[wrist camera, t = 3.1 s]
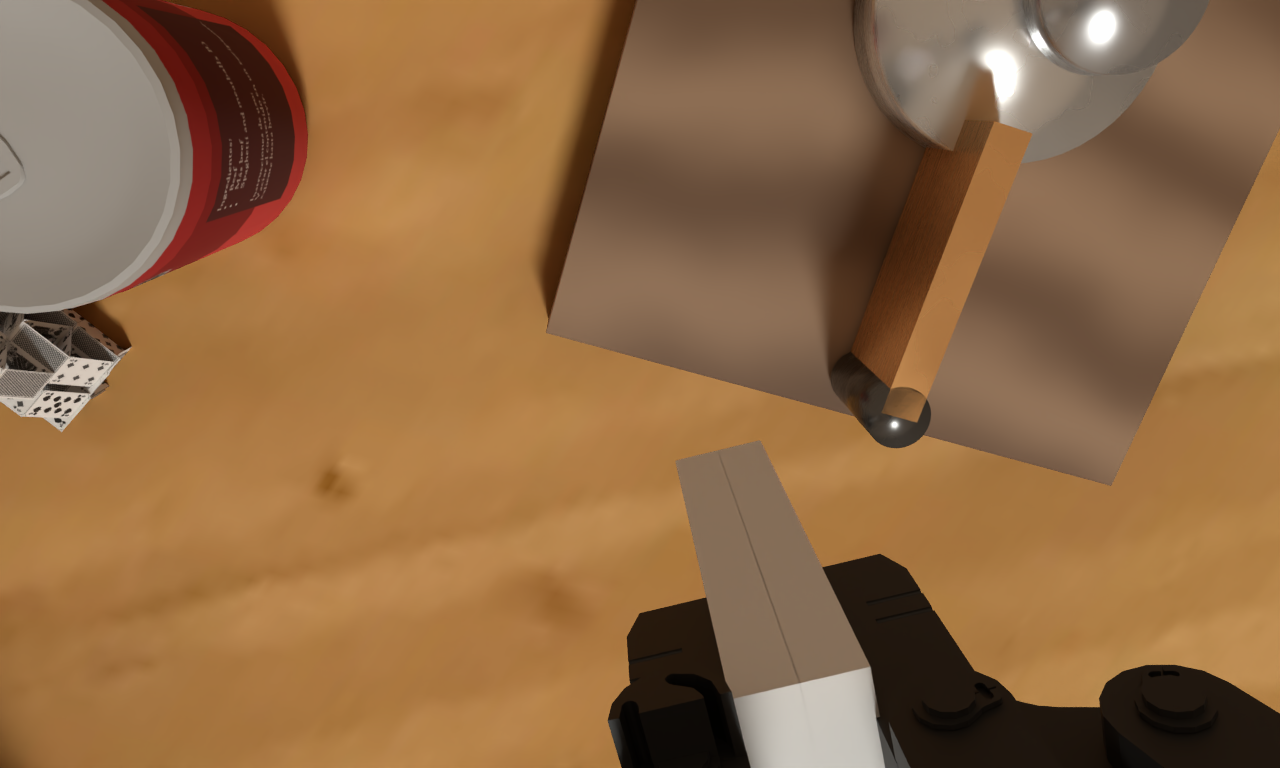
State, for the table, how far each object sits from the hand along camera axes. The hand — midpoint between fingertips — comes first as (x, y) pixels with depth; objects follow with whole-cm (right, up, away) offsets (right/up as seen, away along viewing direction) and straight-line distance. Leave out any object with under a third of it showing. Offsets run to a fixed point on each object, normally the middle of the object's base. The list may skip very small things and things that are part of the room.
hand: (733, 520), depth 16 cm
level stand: (+9, +13, +16) cm, 22 cm away
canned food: (-17, +11, +15) cm, 25 cm away
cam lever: (+10, +10, +15) cm, 20 cm away
